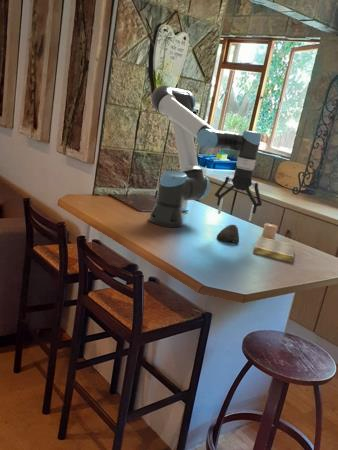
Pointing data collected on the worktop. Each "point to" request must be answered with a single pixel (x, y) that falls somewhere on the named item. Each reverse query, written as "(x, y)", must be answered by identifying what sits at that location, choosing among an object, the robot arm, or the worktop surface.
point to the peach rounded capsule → (269, 231)
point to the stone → (229, 234)
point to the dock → (274, 249)
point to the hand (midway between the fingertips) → (234, 216)
